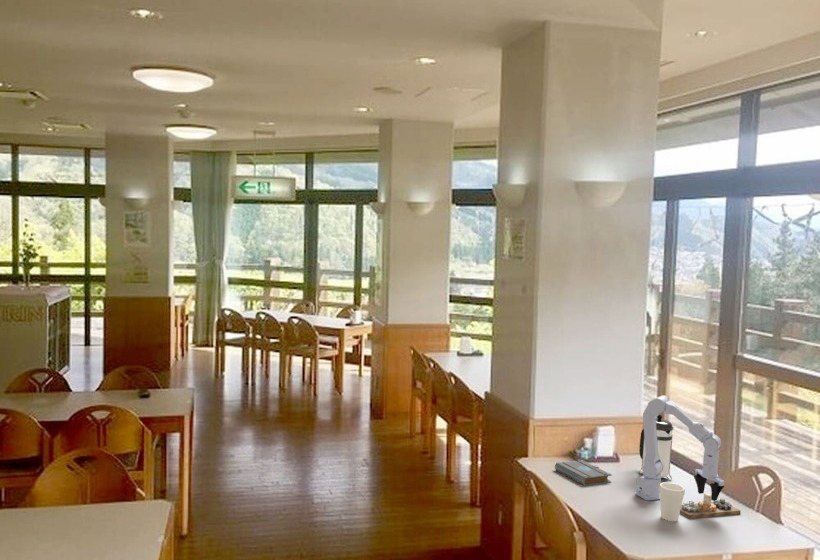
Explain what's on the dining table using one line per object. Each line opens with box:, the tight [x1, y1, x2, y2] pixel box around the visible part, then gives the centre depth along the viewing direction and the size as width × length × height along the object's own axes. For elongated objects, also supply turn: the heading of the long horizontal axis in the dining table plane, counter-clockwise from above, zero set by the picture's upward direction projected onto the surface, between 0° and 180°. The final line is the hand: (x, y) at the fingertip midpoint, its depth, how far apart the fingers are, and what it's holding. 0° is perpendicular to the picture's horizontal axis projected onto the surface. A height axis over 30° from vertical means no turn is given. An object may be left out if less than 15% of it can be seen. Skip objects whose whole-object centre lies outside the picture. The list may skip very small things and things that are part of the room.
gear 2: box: [712, 498, 732, 510], centre depth 289 cm, size 7×7×3 cm
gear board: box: [679, 501, 741, 520], centre depth 287 cm, size 26×10×3 cm, turn 109°
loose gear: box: [697, 493, 716, 511], centre depth 286 cm, size 7×7×6 cm
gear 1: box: [682, 500, 701, 513], centre depth 284 cm, size 7×7×3 cm
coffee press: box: [638, 414, 674, 480], centre depth 327 cm, size 17×16×30 cm
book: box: [554, 459, 612, 487], centre depth 322 cm, size 21×16×5 cm
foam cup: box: [659, 482, 686, 522], centre depth 277 cm, size 10×9×13 cm
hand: (707, 496), depth 286 cm, fingers open, 7 cm apart
